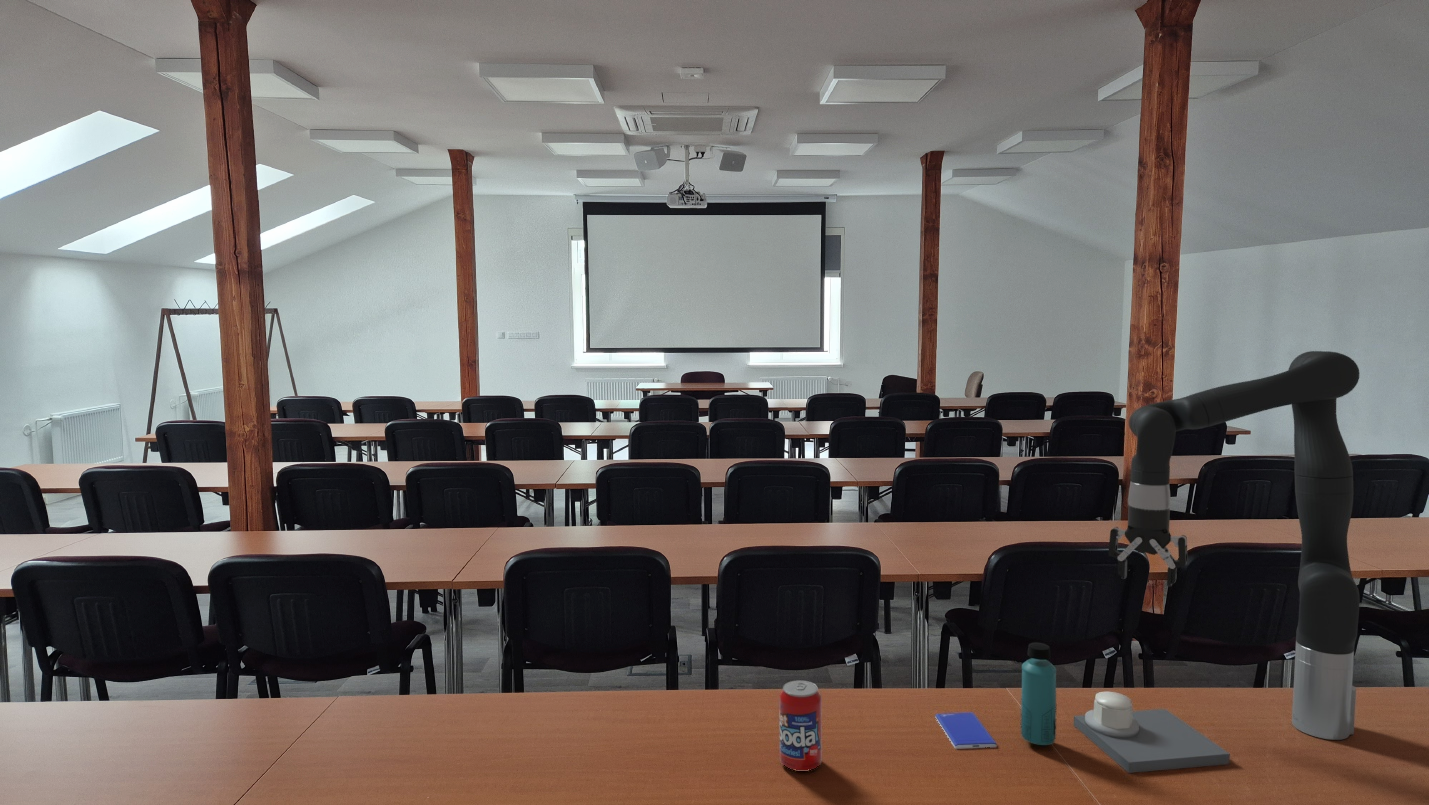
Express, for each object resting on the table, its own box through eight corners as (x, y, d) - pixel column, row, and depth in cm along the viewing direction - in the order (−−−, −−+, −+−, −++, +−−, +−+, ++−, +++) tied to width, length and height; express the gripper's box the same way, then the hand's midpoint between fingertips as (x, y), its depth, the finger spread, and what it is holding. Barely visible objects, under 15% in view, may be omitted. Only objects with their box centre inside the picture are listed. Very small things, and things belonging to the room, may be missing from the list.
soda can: (825, 757, 156) (825, 681, 155) (817, 778, 149) (816, 699, 148) (785, 750, 159) (785, 676, 158) (775, 771, 152) (774, 693, 150)
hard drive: (935, 713, 171) (955, 744, 159) (973, 712, 171) (996, 742, 159) (934, 720, 171) (955, 751, 159) (973, 719, 171) (996, 750, 159)
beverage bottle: (1059, 754, 156) (1061, 652, 154) (1022, 751, 157) (1024, 650, 155) (1052, 737, 162) (1054, 639, 160) (1016, 734, 164) (1018, 637, 162)
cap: (1088, 714, 165) (1088, 692, 164) (1118, 711, 166) (1118, 690, 165) (1107, 729, 159) (1107, 707, 158) (1138, 727, 159) (1138, 705, 159)
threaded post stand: (1164, 718, 169) (1165, 688, 169) (1229, 764, 152) (1230, 730, 151) (1073, 725, 167) (1074, 695, 166) (1128, 773, 149) (1129, 739, 149)
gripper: (1191, 505, 166) (1188, 583, 168) (1115, 497, 175) (1113, 571, 177) (1185, 512, 160) (1182, 593, 162) (1106, 503, 169) (1104, 580, 171)
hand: (1146, 581), depth 169 cm, fingers open, 8 cm apart
